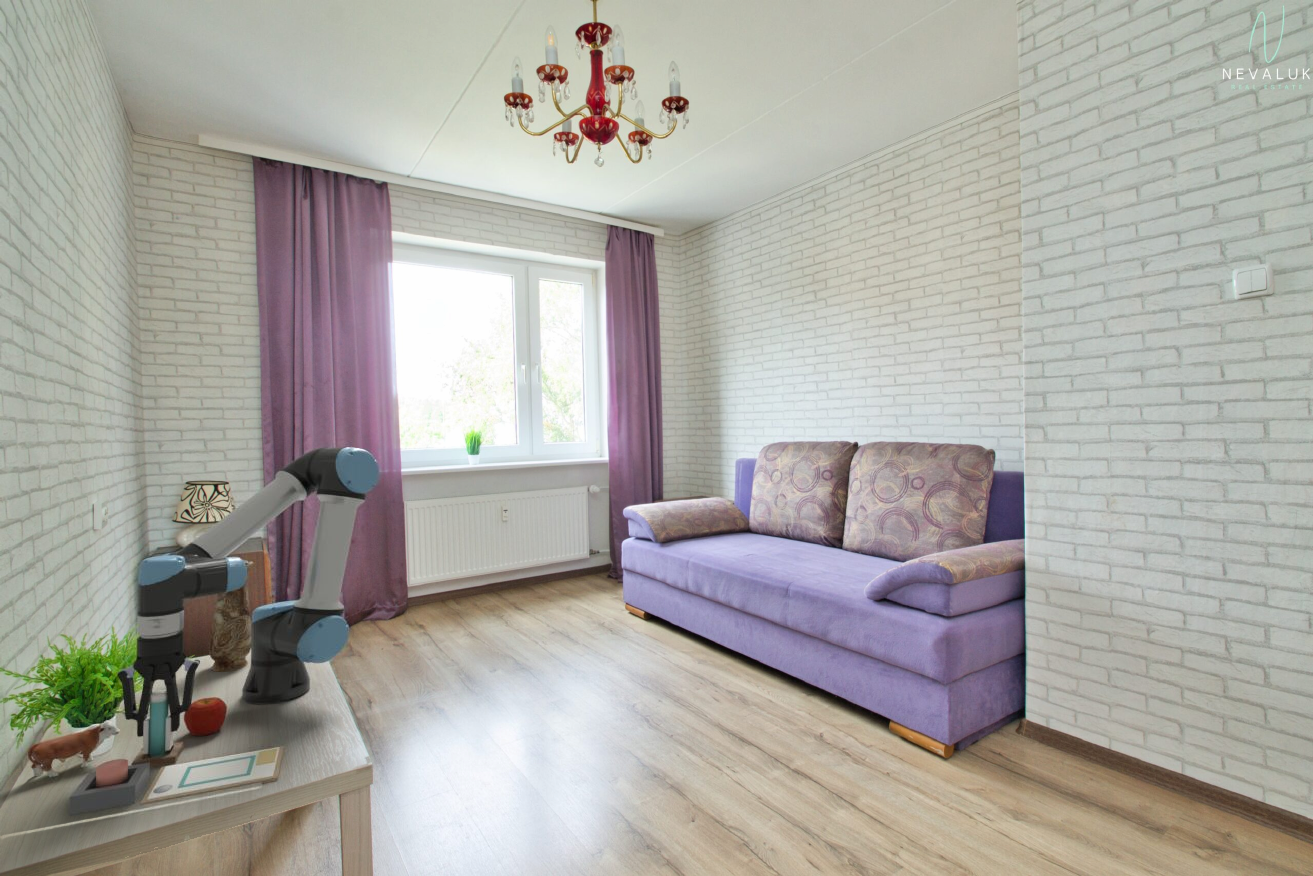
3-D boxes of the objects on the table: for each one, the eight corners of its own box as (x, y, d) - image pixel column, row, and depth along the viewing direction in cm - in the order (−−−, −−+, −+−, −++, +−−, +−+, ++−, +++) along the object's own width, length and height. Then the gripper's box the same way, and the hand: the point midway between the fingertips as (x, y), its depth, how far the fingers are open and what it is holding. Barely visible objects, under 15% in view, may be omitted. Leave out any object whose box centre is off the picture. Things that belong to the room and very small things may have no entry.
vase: (238, 657, 191) (240, 558, 191) (260, 663, 186) (261, 561, 186) (200, 668, 182) (202, 563, 182) (221, 675, 177) (223, 567, 177)
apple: (189, 745, 136) (190, 708, 136) (178, 734, 141) (179, 699, 141) (231, 732, 142) (232, 697, 142) (219, 722, 147) (219, 688, 147)
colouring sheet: (161, 769, 126) (161, 765, 126) (284, 748, 135) (284, 744, 135) (140, 806, 113) (140, 801, 113) (277, 780, 122) (277, 775, 122)
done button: (100, 778, 117) (101, 762, 117) (130, 773, 118) (131, 757, 119) (91, 790, 113) (92, 773, 113) (123, 784, 115) (123, 768, 115)
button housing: (88, 791, 118) (89, 772, 118) (149, 780, 122) (149, 762, 122) (69, 817, 110) (70, 796, 110) (135, 805, 113) (135, 785, 113)
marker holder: (141, 757, 131) (141, 748, 131) (183, 750, 134) (183, 741, 134) (131, 773, 124) (131, 763, 124) (175, 765, 127) (175, 756, 127)
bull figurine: (120, 760, 129) (121, 720, 129) (27, 786, 119) (28, 743, 119) (116, 753, 132) (117, 714, 132) (25, 778, 122) (26, 735, 122)
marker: (150, 757, 130) (152, 690, 130) (169, 754, 131) (170, 688, 131) (146, 764, 127) (147, 696, 127) (165, 761, 128) (166, 693, 128)
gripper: (104, 643, 122) (101, 766, 122) (204, 633, 129) (202, 749, 129) (116, 633, 129) (114, 749, 129) (211, 624, 136) (209, 734, 136)
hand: (158, 749), depth 129 cm, fingers closed on marker, 3 cm apart
